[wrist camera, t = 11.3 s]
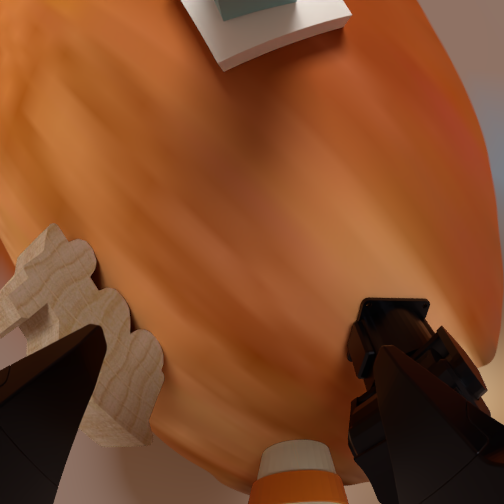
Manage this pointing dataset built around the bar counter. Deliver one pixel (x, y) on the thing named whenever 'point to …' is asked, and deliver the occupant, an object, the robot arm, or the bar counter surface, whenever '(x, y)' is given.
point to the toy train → (77, 316)
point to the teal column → (246, 6)
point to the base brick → (263, 27)
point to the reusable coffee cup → (297, 475)
